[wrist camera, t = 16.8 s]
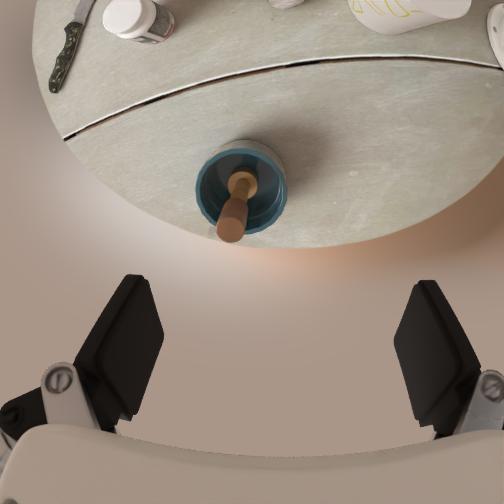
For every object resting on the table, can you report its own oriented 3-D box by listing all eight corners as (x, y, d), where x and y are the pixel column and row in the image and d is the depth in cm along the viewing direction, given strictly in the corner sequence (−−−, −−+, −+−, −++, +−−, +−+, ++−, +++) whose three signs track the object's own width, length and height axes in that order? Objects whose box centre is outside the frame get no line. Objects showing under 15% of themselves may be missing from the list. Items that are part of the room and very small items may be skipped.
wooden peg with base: (258, 165, 32) (251, 210, 21) (258, 192, 34) (252, 248, 23) (229, 166, 32) (207, 210, 21) (230, 192, 34) (210, 248, 23)
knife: (95, -48, 16) (115, -48, 17) (99, -45, 17) (118, -45, 18) (44, 92, 26) (62, 95, 27) (49, 91, 27) (66, 94, 28)
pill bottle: (163, 1, 22) (132, -19, 15) (182, 28, 24) (155, 13, 17) (129, 24, 24) (91, 13, 17) (147, 52, 26) (111, 45, 19)
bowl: (285, 139, 31) (287, 148, 26) (283, 213, 35) (285, 235, 31) (203, 140, 31) (191, 150, 27) (209, 213, 36) (199, 234, 31)
